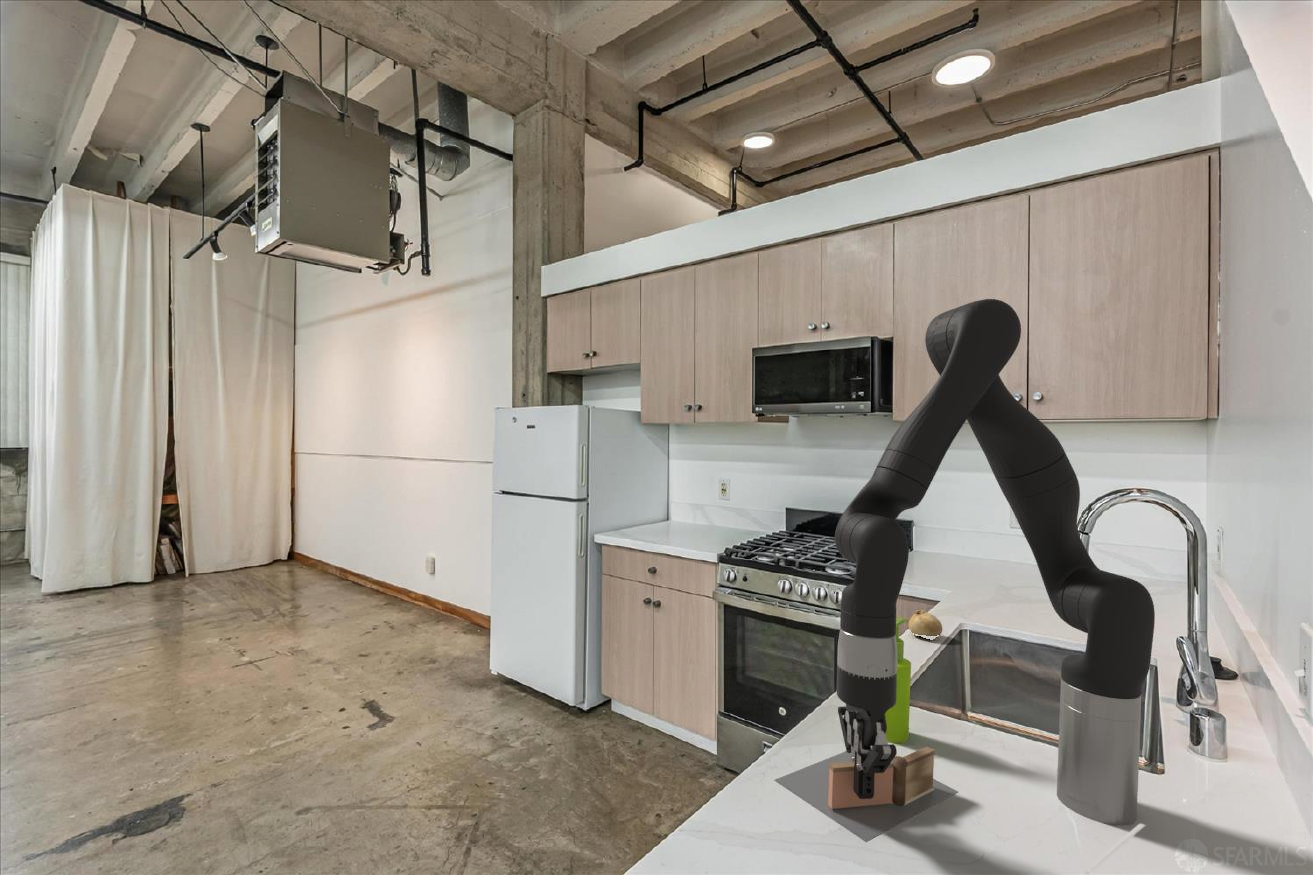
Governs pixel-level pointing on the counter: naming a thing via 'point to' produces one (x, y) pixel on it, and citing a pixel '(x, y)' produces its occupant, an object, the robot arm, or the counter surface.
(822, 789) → the card
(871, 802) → the hinged fence section
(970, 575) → the counter surface
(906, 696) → the soap dispenser
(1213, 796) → the counter surface
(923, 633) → the onion
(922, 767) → the fixed fence section
